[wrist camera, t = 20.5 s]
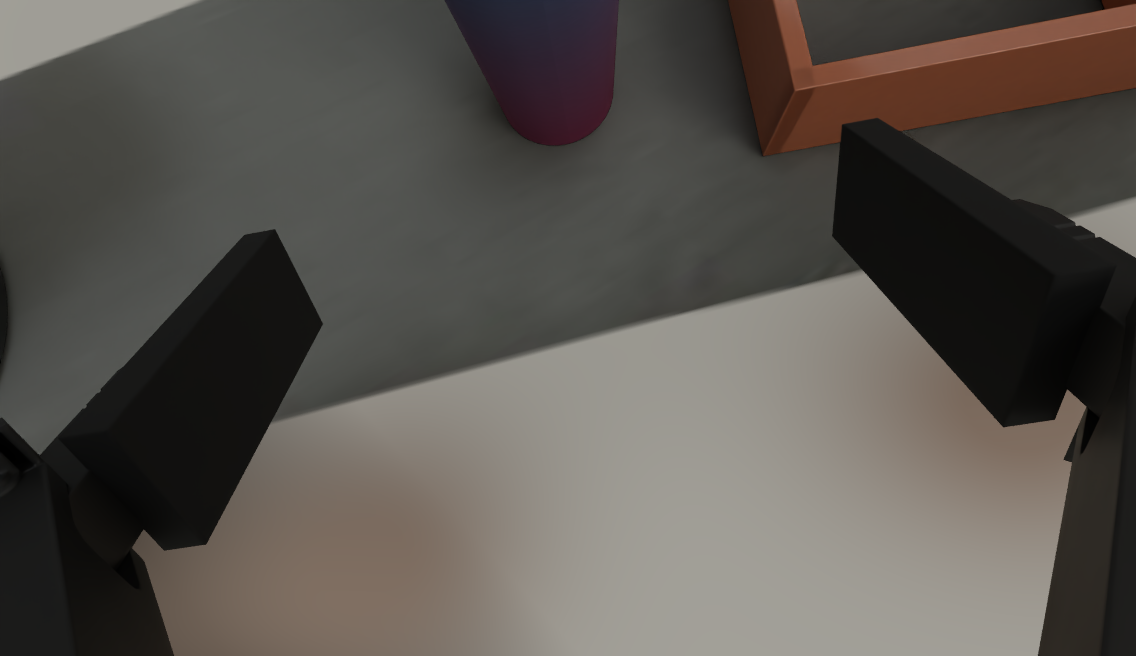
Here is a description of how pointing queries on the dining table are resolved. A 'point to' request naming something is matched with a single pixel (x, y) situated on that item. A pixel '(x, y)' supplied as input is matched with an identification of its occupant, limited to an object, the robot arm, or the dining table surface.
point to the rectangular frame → (924, 73)
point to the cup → (545, 61)
